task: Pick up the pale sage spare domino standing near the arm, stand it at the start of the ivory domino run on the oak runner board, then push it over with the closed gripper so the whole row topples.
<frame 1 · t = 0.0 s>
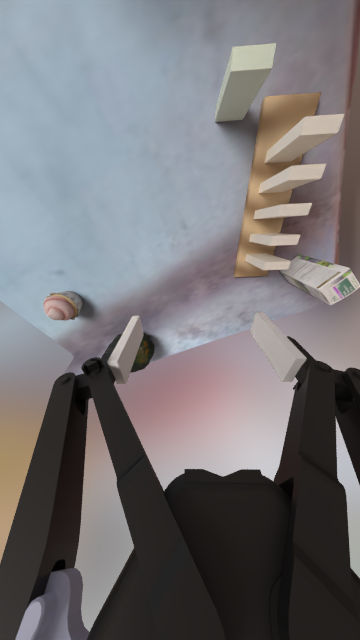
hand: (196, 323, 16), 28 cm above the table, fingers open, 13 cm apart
runner board: (264, 209, 33), on the table
squash: (136, 340, 55), on the table
domino 3: (271, 187, 30), point 1 cm above the table, touching runner board
cupcake: (73, 299, 46), on the table
domino 4: (265, 214, 32), point 1 cm above the table, touching runner board
domino 2: (278, 156, 27), point 1 cm above the table, touching runner board
syrup box: (292, 269, 40), on the table
domino 1: (229, 113, 25), on the table
domino 5: (260, 237, 35), point 1 cm above the table, touching runner board
domino 6: (255, 257, 37), point 1 cm above the table, touching runner board
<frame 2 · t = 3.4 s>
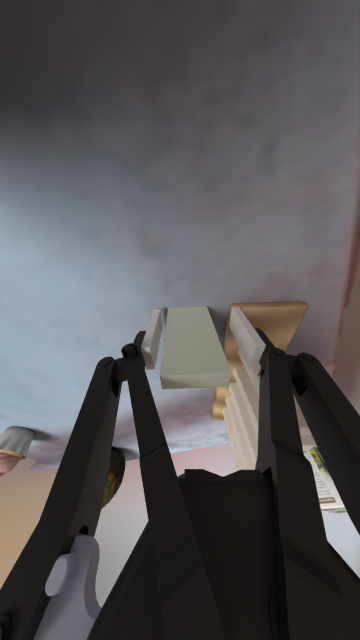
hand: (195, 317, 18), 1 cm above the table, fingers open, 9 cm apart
runner board: (241, 375, 26), on the table
squash: (106, 450, 48), on the table
domino 3: (249, 369, 23), point 1 cm above the table, touching runner board
cupcake: (22, 430, 38), on the table
domino 4: (243, 384, 26), point 1 cm above the table, touching runner board
domino 2: (256, 349, 21), point 1 cm above the table, touching runner board
syrup box: (279, 409, 34), on the table
domino 1: (187, 312, 19), on the table
domino 5: (238, 398, 28), point 1 cm above the table, touching runner board
domino 6: (234, 409, 31), point 1 cm above the table, touching runner board
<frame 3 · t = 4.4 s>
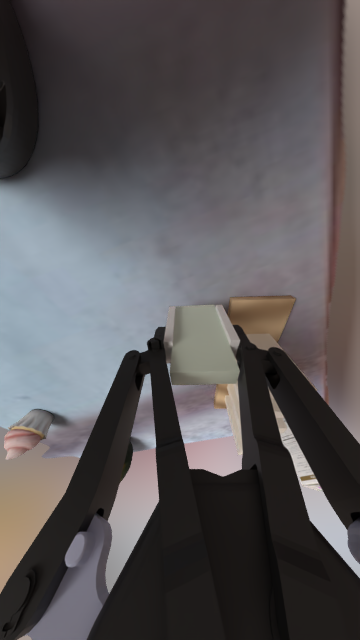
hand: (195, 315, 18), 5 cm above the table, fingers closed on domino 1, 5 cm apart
runner board: (241, 364, 29), on the table
squash: (115, 438, 51), on the table
cupcake: (43, 413, 43), on the table
domino 2: (252, 337, 24), point 1 cm above the table, touching runner board
syrup box: (278, 400, 36), on the table
domino 1: (194, 310, 19), point 4 cm above the table, touching gripper
domino 5: (238, 385, 31), point 1 cm above the table, touching runner board
domino 6: (235, 397, 34), point 1 cm above the table, touching runner board
when the fingers open (2 cm above the table, at t = 8.5 s): domino 1 stays where it is, resting on runner board.
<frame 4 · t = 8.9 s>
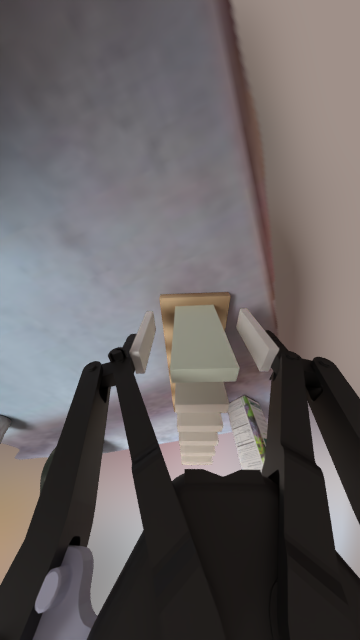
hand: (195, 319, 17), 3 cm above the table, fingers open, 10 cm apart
runner board: (192, 366, 27), on the table
domino 3: (193, 359, 24), point 1 cm above the table, touching runner board
domino 4: (193, 375, 27), point 1 cm above the table, touching runner board
domino 2: (194, 339, 22), point 1 cm above the table, touching runner board
syrup box: (241, 402, 35), on the table
domino 1: (194, 310, 19), point 1 cm above the table, touching runner board
domino 5: (193, 389, 29), point 1 cm above the table, touching runner board
domino 6: (192, 400, 32), point 1 cm above the table, touching runner board
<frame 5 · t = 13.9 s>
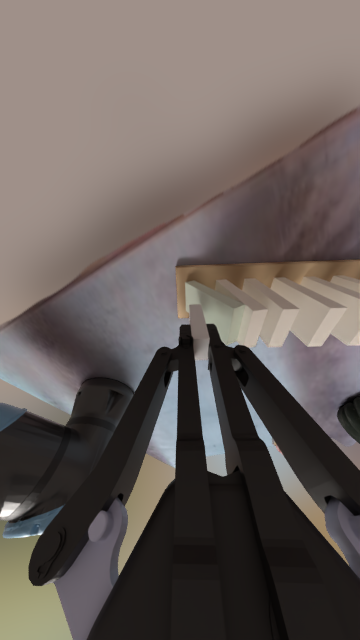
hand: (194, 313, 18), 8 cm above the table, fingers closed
runner board: (264, 290, 24), on the table
squash: (355, 401, 44), on the table
domino 3: (246, 293, 23), point 1 cm above the table, touching runner board
domino 4: (273, 292, 23), point 1 cm above the table, touching runner board
domino 2: (219, 294, 23), point 1 cm above the table, tilted 9°, touching runner board
domino 1: (189, 296, 23), point 2 cm above the table, tilted 28°, touching runner board
domino 5: (301, 291, 23), point 1 cm above the table, touching runner board
domino 6: (330, 291, 23), point 1 cm above the table, touching runner board
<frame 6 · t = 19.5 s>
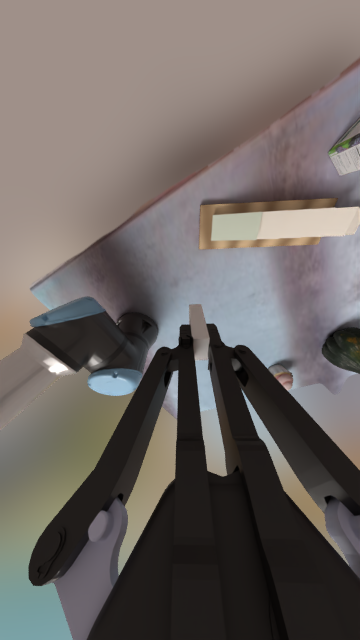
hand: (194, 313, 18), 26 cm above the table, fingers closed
runner board: (260, 225, 35), on the table
squash: (336, 339, 55), on the table
domino 3: (253, 226, 33), point 2 cm above the table, tilted 69°, touching domino 2, domino 4, runner board
cupcake: (274, 368, 65), on the table
domino 4: (273, 225, 33), point 2 cm above the table, tilted 69°, touching domino 3, domino 5
domino 2: (233, 227, 34), point 2 cm above the table, tilted 69°, touching domino 1, domino 3, runner board
syrup box: (347, 150, 28), on the table
domino 1: (212, 228, 34), point 2 cm above the table, tilted 70°, touching domino 2, runner board
domino 5: (292, 224, 33), point 2 cm above the table, tilted 69°, touching domino 4, domino 6, runner board
domino 6: (312, 223, 33), point 2 cm above the table, tilted 90°, touching domino 5, runner board
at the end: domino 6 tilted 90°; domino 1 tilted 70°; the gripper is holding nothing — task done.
